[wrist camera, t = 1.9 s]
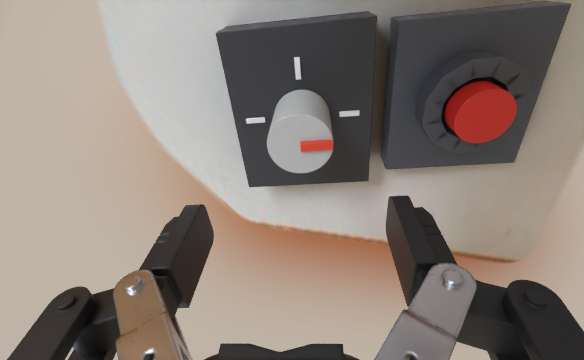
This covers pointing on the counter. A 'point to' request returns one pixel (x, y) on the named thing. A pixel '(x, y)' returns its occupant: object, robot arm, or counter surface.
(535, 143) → the counter surface
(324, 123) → the timer knob
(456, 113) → the power button
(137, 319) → the robot arm
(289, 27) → the panel
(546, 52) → the power block
